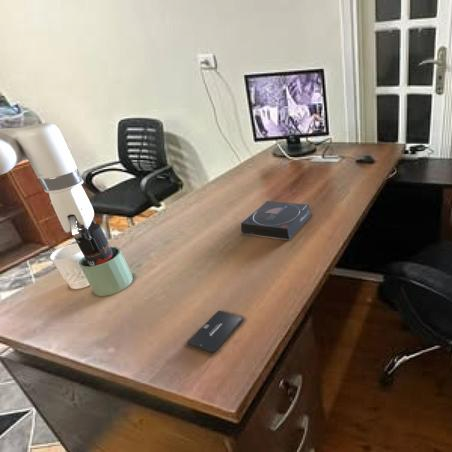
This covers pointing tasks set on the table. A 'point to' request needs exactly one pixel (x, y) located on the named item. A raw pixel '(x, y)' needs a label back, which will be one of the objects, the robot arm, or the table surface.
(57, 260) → the white cup
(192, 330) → the table surface
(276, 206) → the portable cd player
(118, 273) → the pen holder
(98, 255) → the deodorant
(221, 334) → the solid state drive
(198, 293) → the table surface
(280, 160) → the table surface
